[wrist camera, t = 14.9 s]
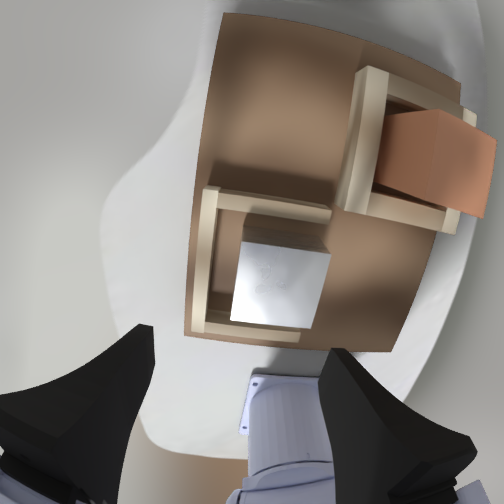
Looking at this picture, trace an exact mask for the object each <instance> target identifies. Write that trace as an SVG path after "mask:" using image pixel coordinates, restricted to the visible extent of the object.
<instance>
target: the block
mask: <svg viewBox="0 0 504 504" xmlns="http://www.w3.org/2000/svg"><path fill="white" fill-rule="evenodd" d="M330 258H331V253H330V252H329V250H328V249H327V247H326V246H325V245H324V243H323V242H322V240H321V239H320V238H319V236H314V235H308V234H301V233H295V232H288V231H281V230H275V229H268V228H261V227H254V226H247V225H243V228H242V235H241V241H240V248H239V255H238V262H237V269H236V276H235V283H234V290H233V299H232V309H231V319H230V320H234V321H242V322H250V323H258V324H267V325H277V326H287V327H297V328H309V329H311V326H312V323H313V319H314V316H315V313H316V309H317V306H318V302H319V299H320V295H321V292H322V288H323V285H324V281H325V277H326V274H327V270H328V266H329V262H330Z"/></svg>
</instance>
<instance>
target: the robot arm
mask: <svg viewBox="0 0 504 504" xmlns="http://www.w3.org/2000/svg"><path fill="white" fill-rule="evenodd" d="M154 366H155V353H154V333H153V326H148V325H143V324H138V325H137V326H135V327H134V328H133V329H132V330H130V331H129V332H128V333H127V334H126V335H124V336H123V337H122V338H121V339H119V340H118V341H117V342H116V343H114V344H113V345H112V346H110V347H109V348H108V349H107V350H105V351H104V352H103V353H101V354H100V355H98V356H97V357H95V358H94V359H92V360H91V361H90V362H88V363H86V364H85V365H84V366H81V367H80V368H78V369H76V370H74V371H72V372H70V373H69V374H67V375H64V376H62V377H60V378H58V379H56V380H53V381H51V382H48V383H45V384H42V385H39V386H36V387H33V388H30V389H27V390H23V391H18V392H12V393H8V394H2V395H0V446H1V447H2V449H3V450H4V453H3V454H2V456H1V455H0V504H117V499H118V491H119V484H120V478H121V472H122V468H123V462H124V458H125V453H126V449H127V445H128V441H129V437H130V433H131V430H132V427H133V424H134V422H135V419H136V417H137V414H138V412H139V409H140V407H141V404H142V402H143V400H144V397H145V395H146V392H147V390H148V387H149V385H150V381H151V378H152V374H153V370H154ZM255 382H256V383H255ZM239 433H240V434H242V435H248V477H246V478H243V479H242V481H243V482H242V489H236V490H234V491H233V492H232V494H231V495H230V496H229V498H228V499H227V501H226V504H490V502H489V499H488V497H487V495H486V492H485V490H484V488H483V486H482V484H481V482H480V480H476V481H474V482H472V483H470V484H468V485H466V486H464V487H462V488H460V489H459V490H457V491H455V490H454V487H453V486H455V485H456V484H457V481H456V479H455V477H456V476H457V475H458V474H459V473H460V472H461V471H463V470H464V469H465V468H466V467H467V466H468V465H469V464H470V463H471V462H472V461H473V460H474V458H475V457H476V455H477V449H476V448H475V446H474V444H473V442H472V440H471V438H470V437H469V436H467V435H464V434H461V433H458V432H455V431H452V430H450V429H447V428H445V427H443V426H441V425H438V424H436V423H434V422H432V421H430V420H429V419H427V418H425V417H423V416H422V415H420V414H418V413H417V412H415V411H413V410H412V409H410V408H409V407H408V406H406V405H405V404H404V403H402V402H401V401H400V400H398V399H397V398H396V397H395V396H393V395H392V394H391V393H390V392H389V391H388V390H386V389H385V388H384V387H383V386H382V385H381V384H380V383H379V382H378V381H377V380H376V379H375V378H374V377H373V376H372V375H371V374H370V373H369V372H368V371H367V370H366V369H365V368H364V367H363V366H362V365H361V364H360V363H359V362H358V361H357V360H356V359H355V358H354V357H353V356H352V355H351V354H350V353H349V352H348V351H347V350H346V349H345V348H331V349H330V352H329V354H328V357H327V360H326V362H325V365H324V367H323V370H322V372H321V375H320V377H319V378H310V377H289V376H274V375H262V374H254V375H252V376H251V377H250V382H249V386H248V391H247V395H246V400H245V404H244V409H243V413H242V418H241V422H240V427H239Z"/></svg>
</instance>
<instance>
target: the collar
mask: <svg viewBox="0 0 504 504" xmlns="http://www.w3.org/2000/svg"><path fill="white" fill-rule="evenodd" d="M386 103H389V104H392V105H395V106H397V107H400V108H403V109H405V110H408V111H410V112H415V111H424V110H433V109H441V110H443V111H445V112H447V113H449V114H451V115H453V116H455V117H457V118H459V119H461V120H463V121H465V122H466V123H468V124H470V125H472V126H474V127H476V119H477V114H475V113H473V112H472V111H470V110H468V109H466V108H464V107H463V106H461V105H459V104H457V103H455V102H453V101H451V100H449V99H447V98H446V97H444V96H442V95H439V94H437V93H435V92H433V91H431V90H429V89H427V88H425V87H422V86H420V85H418V84H416V83H413V82H411V81H409V80H406V79H404V78H401V77H399V76H396V75H394V74H391V73H388V72H386V71H383V70H380V69H377V68H374V67H371V66H366V67H365V68H363V69H361V70H360V71H358V72H356V73H355V80H354V88H353V95H352V103H351V110H350V116H349V123H348V129H347V135H346V141H345V147H344V153H343V159H342V164H341V169H340V175H339V180H338V185H337V190H336V195H335V200H334V204H336V205H337V206H339V207H340V208H341V209H343V210H344V211H349V212H354V213H359V214H364V215H369V216H374V217H378V218H383V219H388V220H392V221H397V222H401V223H406V224H410V225H415V226H419V227H423V228H427V229H431V230H436V231H440V232H444V233H448V234H451V235H455V232H456V229H457V225H458V221H459V218H460V214H461V212H460V211H457V210H454V209H451V208H448V207H445V206H442V205H438V204H435V203H432V202H430V205H428V204H424V203H421V202H417V201H414V200H410V199H406V198H403V197H399V196H395V195H391V194H387V193H383V192H379V191H375V190H371V188H372V183H373V178H374V173H375V168H376V162H377V157H378V151H379V146H380V140H381V133H382V127H383V120H384V113H385V105H386Z"/></svg>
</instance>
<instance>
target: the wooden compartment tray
mask: <svg viewBox="0 0 504 504" xmlns="http://www.w3.org/2000/svg"><path fill="white" fill-rule="evenodd" d="M366 66H371V67H374V68H377V69H380V70H383V71H386V72H388V73H391V74H394V75H396V76H399V77H401V78H404V79H406V80H409V81H411V82H413V83H416V84H418V85H420V86H422V87H425V88H427V89H429V90H431V91H433V92H435V93H437V94H439V95H442V96H444V97H446V98H447V99H449V100H451V101H453V102H455V103H457V104H459V105H460V90H461V83H459V82H458V81H456V80H454V79H452V78H450V77H449V76H447V75H445V74H443V73H441V72H439V71H437V70H435V69H433V68H431V67H429V66H427V65H425V64H423V63H421V62H419V61H416V60H414V59H412V58H410V57H407V56H405V55H403V54H400V53H398V52H395V51H393V50H390V49H388V48H385V47H382V46H380V45H377V44H374V43H371V42H369V41H366V40H363V39H360V38H356V37H353V36H350V35H347V34H343V33H340V32H336V31H333V30H329V29H325V28H321V27H317V26H313V25H308V24H304V23H299V22H294V21H288V20H283V19H277V18H270V17H263V16H256V15H247V14H237V13H223V17H222V22H221V26H220V31H219V35H218V40H217V45H216V50H215V55H214V60H213V66H212V71H211V77H210V82H209V88H208V94H207V100H206V106H205V112H204V119H203V125H202V132H201V139H200V147H199V154H198V162H197V170H196V179H195V187H194V196H193V206H192V216H191V227H190V239H189V251H188V265H187V280H186V298H185V320H184V336H190V337H196V338H203V339H210V340H217V341H225V342H232V343H241V344H249V345H259V346H269V347H280V348H292V349H306V350H322V351H330V349H331V348H345V349H346V350H347V351H348V352H391V351H392V349H393V347H394V345H395V343H396V341H397V338H398V336H399V334H400V332H401V329H402V327H403V325H404V323H405V320H406V318H407V316H408V313H409V311H410V308H411V306H412V303H413V301H414V298H415V296H416V293H417V290H418V288H419V285H420V282H421V279H422V277H423V274H424V271H425V268H426V265H427V262H428V259H429V256H430V253H431V249H432V246H433V243H434V239H435V236H436V233H437V231H436V230H431V229H427V228H423V227H419V226H415V225H410V224H406V223H401V222H397V221H392V220H388V219H383V218H378V217H374V216H369V215H364V214H359V213H354V212H349V211H344V210H343V209H341V208H340V207H339V206H337V205H336V204H334V200H335V195H336V190H337V185H338V180H339V175H340V169H341V164H342V159H343V153H344V147H345V141H346V135H347V129H348V123H349V116H350V110H351V103H352V95H353V88H354V80H355V73H356V72H358V71H360V70H361V69H363V68H365V67H366ZM408 112H410V111H408V110H405V109H403V108H400V107H397V106H395V105H392V104H389V103H386V105H385V113H384V116H387V115H394V114H401V113H408ZM371 190H375V191H379V192H383V193H387V194H391V195H395V196H399V197H403V198H406V199H410V200H414V201H417V202H421V203H424V204H428V205H430V202H428V201H425V200H422V199H420V198H417V197H415V196H412V195H409V194H407V193H404V192H401V191H399V190H396V189H393V188H391V187H388V186H385V185H382V184H379V183H376V182H373V183H372V188H371ZM243 225H247V226H254V227H261V228H268V229H275V230H281V231H288V232H295V233H301V234H308V235H314V236H319V238H320V239H321V240H322V242H323V243H324V245H325V246H326V247H327V249H328V250H329V252H330V253H331V258H330V262H329V266H328V270H327V274H326V277H325V281H324V285H323V288H322V292H321V295H320V299H319V302H318V306H317V309H316V313H315V316H314V319H313V323H312V326H311V329H309V328H297V327H287V326H277V325H267V324H258V323H250V322H242V321H234V320H230V319H231V309H232V299H233V290H234V283H235V276H236V269H237V262H238V255H239V248H240V241H241V235H242V228H243Z"/></svg>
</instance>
